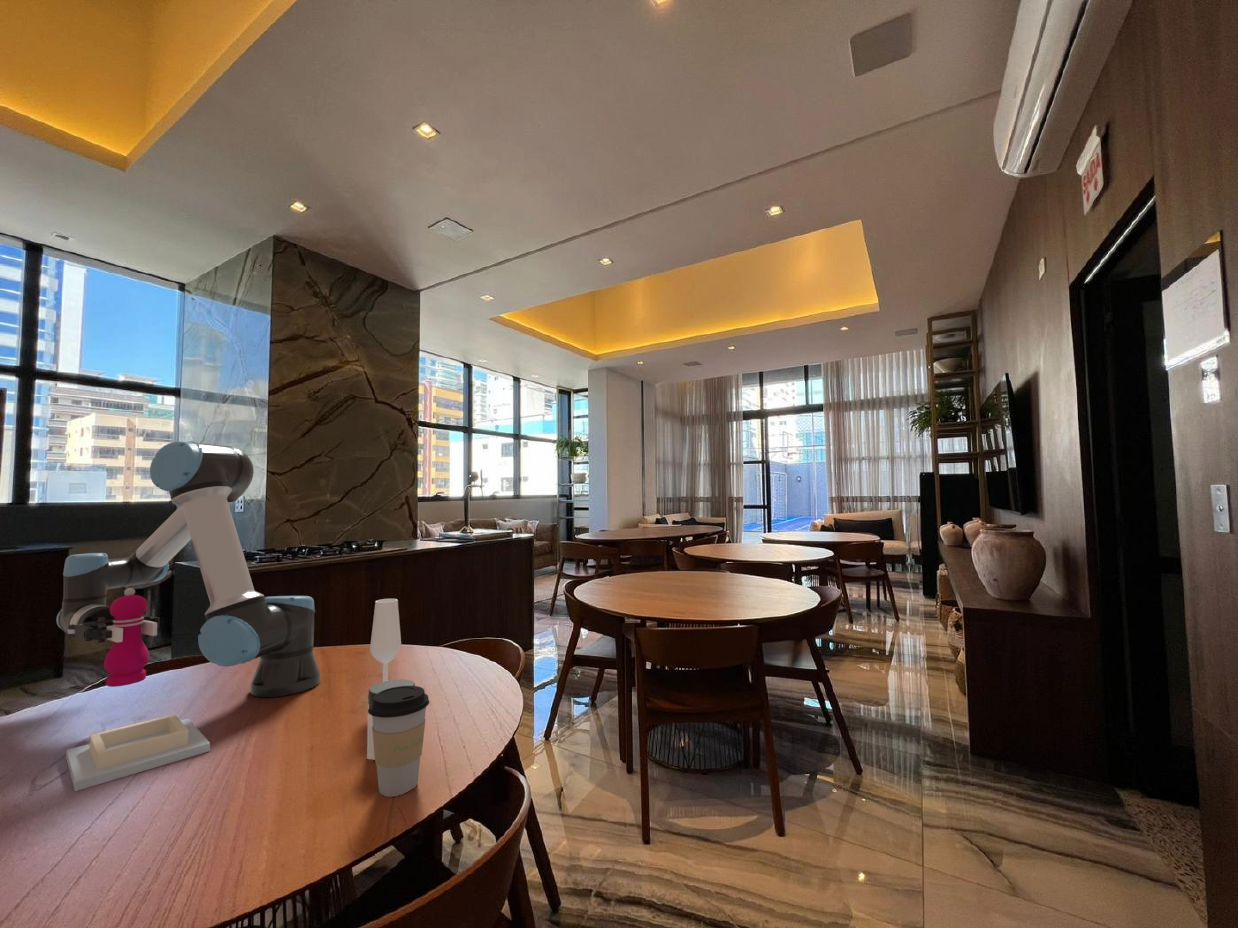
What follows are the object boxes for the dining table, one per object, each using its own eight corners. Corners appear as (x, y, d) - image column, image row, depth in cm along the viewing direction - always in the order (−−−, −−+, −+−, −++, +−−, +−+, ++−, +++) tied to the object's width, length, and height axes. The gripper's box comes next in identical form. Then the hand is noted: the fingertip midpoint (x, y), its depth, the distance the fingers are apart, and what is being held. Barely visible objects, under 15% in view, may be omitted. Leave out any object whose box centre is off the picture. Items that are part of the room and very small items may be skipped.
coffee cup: (406, 805, 82) (408, 706, 83) (353, 799, 84) (355, 702, 85) (439, 774, 91) (440, 685, 92) (390, 769, 93) (391, 682, 94)
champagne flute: (362, 708, 120) (364, 602, 122) (385, 698, 127) (386, 597, 128) (384, 713, 118) (386, 604, 119) (406, 702, 124) (408, 598, 126)
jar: (402, 736, 106) (403, 675, 107) (424, 748, 101) (425, 684, 101) (357, 753, 99) (358, 688, 100) (377, 767, 94) (378, 698, 95)
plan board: (188, 725, 112) (188, 706, 113) (209, 750, 101) (210, 729, 101) (65, 757, 99) (67, 735, 99) (74, 791, 87) (76, 766, 87)
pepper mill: (156, 677, 116) (159, 585, 118) (116, 689, 109) (120, 591, 111) (135, 675, 119) (138, 585, 120) (94, 686, 112) (98, 590, 113)
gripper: (146, 629, 131) (188, 640, 120) (41, 648, 116) (78, 662, 104) (147, 599, 132) (189, 606, 120) (43, 613, 116) (80, 623, 105)
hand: (138, 632), depth 112 cm, fingers closed on pepper mill, 5 cm apart
